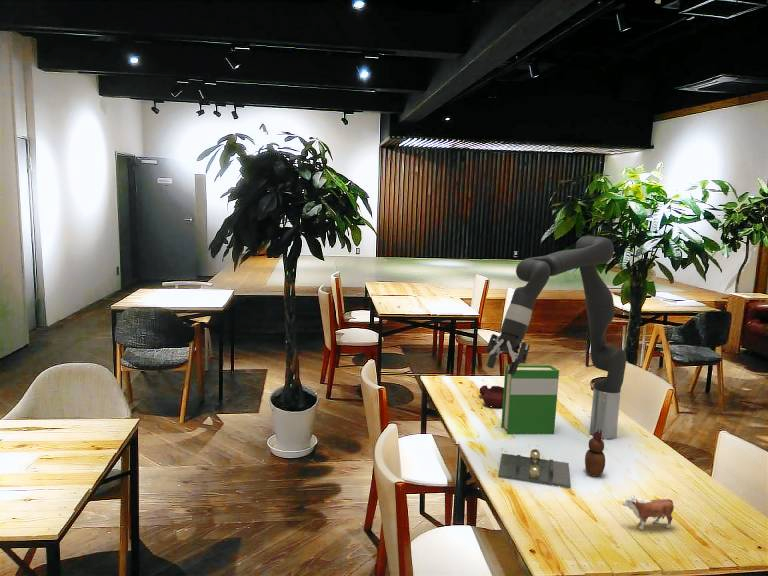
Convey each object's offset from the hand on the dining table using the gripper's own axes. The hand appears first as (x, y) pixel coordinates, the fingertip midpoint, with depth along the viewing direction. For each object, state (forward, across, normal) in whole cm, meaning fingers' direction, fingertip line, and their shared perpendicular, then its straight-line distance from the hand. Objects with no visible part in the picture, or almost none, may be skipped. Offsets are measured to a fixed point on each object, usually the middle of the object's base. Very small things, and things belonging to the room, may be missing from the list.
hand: (500, 371), depth 176 cm
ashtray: (+12, +45, -58) cm, 74 cm away
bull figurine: (+26, -45, -21) cm, 56 cm away
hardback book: (+17, +17, -44) cm, 50 cm away
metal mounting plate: (+26, -8, -20) cm, 34 cm away
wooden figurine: (+20, -18, -35) cm, 45 cm away
